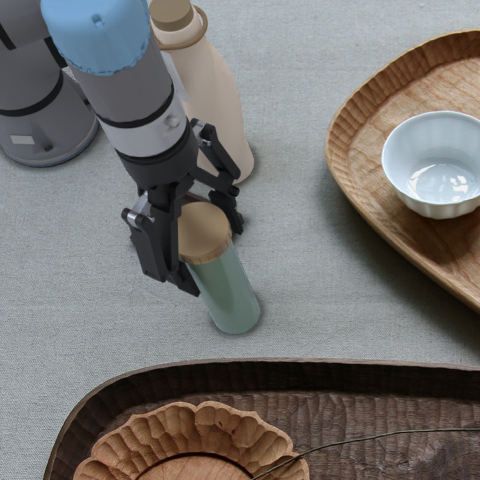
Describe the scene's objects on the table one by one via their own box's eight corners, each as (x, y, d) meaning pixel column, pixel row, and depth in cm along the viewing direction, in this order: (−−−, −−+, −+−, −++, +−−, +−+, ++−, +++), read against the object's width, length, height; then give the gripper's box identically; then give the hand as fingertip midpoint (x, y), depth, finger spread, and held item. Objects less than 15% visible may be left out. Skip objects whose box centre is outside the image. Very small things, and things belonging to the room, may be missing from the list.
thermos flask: (207, 330, 109) (163, 252, 91) (220, 289, 111) (179, 205, 94) (253, 337, 108) (217, 260, 90) (265, 296, 110) (232, 213, 93)
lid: (192, 201, 95) (187, 192, 93) (244, 225, 93) (240, 216, 92) (155, 249, 93) (150, 240, 91) (209, 274, 91) (204, 266, 89)
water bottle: (247, 201, 117) (192, 49, 91) (188, 192, 118) (117, 40, 92) (266, 144, 120) (218, -17, 94) (208, 137, 121) (146, -25, 96)
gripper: (115, 231, 72) (188, 344, 93) (243, 62, 79) (284, 203, 100) (48, 200, 74) (134, 318, 95) (179, 38, 81) (233, 181, 101)
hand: (211, 259), depth 97 cm, fingers open, 9 cm apart
